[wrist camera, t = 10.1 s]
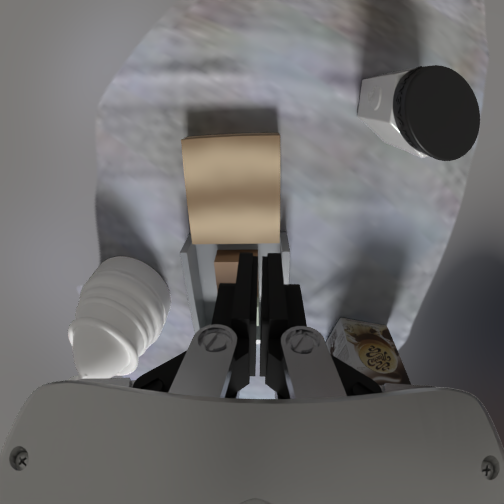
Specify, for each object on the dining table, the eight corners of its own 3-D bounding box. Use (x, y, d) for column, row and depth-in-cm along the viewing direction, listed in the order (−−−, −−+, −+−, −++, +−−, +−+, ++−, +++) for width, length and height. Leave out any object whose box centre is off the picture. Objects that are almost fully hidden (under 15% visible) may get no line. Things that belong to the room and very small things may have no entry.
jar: (361, 61, 26) (410, 45, 15) (422, 81, 26) (485, 82, 15) (351, 134, 30) (396, 153, 19) (412, 149, 30) (470, 176, 20)
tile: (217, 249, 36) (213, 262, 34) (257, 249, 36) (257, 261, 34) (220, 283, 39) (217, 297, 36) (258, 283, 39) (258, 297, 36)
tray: (189, 233, 36) (179, 252, 32) (286, 232, 36) (289, 251, 32) (202, 319, 43) (196, 342, 39) (283, 319, 43) (285, 343, 38)
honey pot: (135, 335, 46) (99, 423, 30) (81, 281, 41) (22, 362, 25) (188, 305, 42) (157, 409, 26) (128, 239, 37) (59, 330, 21)
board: (188, 136, 31) (181, 139, 28) (278, 132, 30) (279, 135, 28) (197, 233, 36) (192, 244, 34) (278, 232, 36) (279, 243, 33)
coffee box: (388, 323, 43) (421, 404, 29) (369, 350, 46) (394, 429, 32) (339, 315, 42) (364, 405, 28) (323, 344, 45) (338, 431, 31)
